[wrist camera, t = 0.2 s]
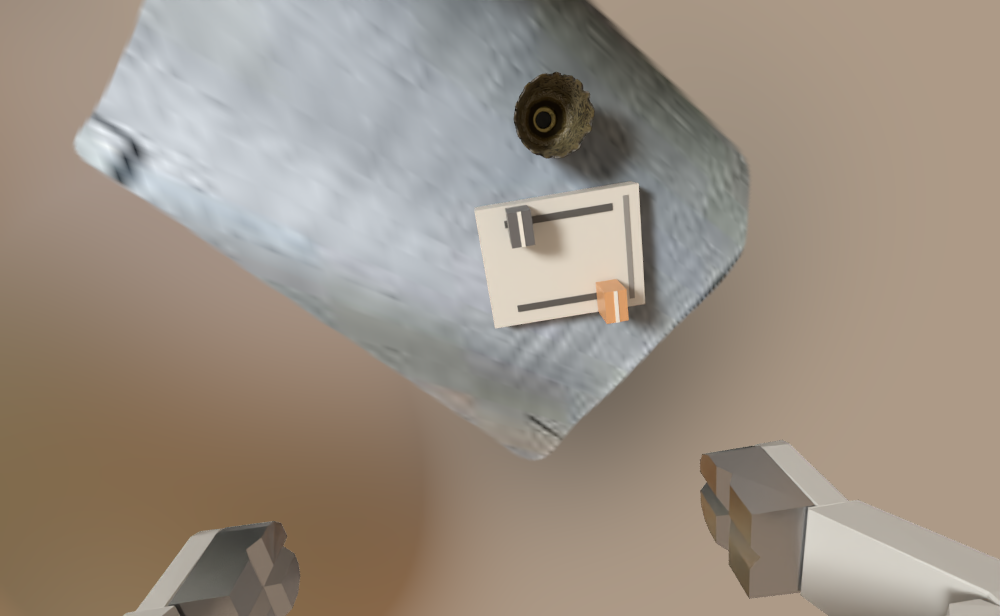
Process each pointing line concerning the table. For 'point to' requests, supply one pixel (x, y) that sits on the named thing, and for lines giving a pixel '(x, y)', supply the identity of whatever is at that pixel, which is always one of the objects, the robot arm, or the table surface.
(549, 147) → the cup
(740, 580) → the robot arm
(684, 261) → the table surface
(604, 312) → the fader
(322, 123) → the table surface
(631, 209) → the mixer console
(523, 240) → the fader
